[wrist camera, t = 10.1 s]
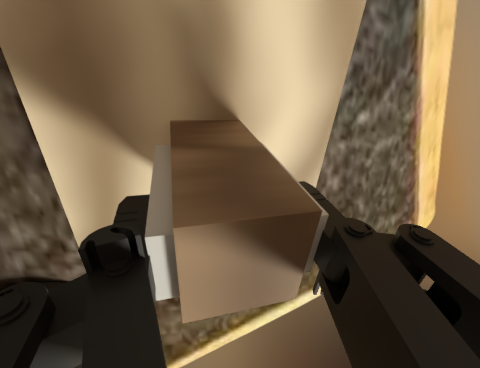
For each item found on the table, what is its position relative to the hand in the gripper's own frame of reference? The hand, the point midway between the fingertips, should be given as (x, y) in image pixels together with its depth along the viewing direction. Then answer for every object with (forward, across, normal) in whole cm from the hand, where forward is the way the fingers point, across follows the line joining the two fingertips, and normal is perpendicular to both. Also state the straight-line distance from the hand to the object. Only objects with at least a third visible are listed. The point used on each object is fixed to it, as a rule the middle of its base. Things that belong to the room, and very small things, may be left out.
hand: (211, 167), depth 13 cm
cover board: (+3, 0, 0) cm, 3 cm away
